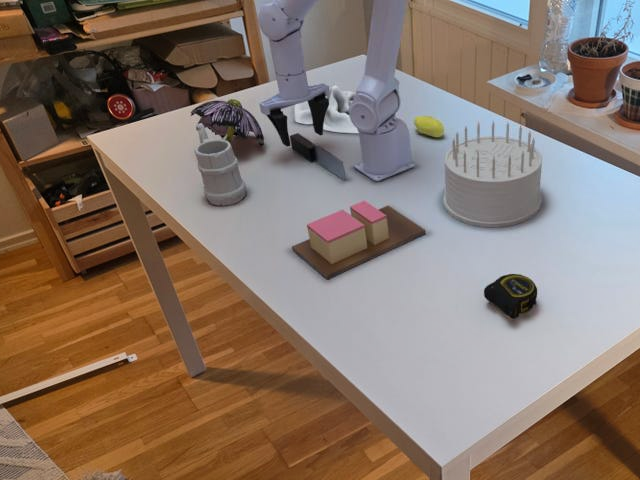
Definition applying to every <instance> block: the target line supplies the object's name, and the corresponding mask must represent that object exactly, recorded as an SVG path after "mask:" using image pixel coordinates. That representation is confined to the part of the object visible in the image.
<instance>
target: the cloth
mask: <svg viewBox="0 0 640 480" xmlns="http://www.w3.org/2000/svg"><path fill="white" fill-rule="evenodd" d="M329 90H330V95H329V96H325V98H327V99H329V106H328V109H327V111H326V114H325V118H324V125H323V131H326V132H331V133H336V134H337V133H338V134H354V135H356V134H357V135H359V132H358V130H357V128H356V127H355V126H354V125H353V123H352V121H351V119H350V116H349V107H350V104H351V103H352V101H353V100H354V99H355V95H356V92H353V91H347V90H343V91H342V90H341V89H340V88H339V86H337V85H333V86H331V87H329ZM293 107H294V109H293V115H294V121H295V122H296V123H298V124H300V125H309V126H310V125H313V121H312V115H311V111H310V108H309V104H308V102H307V101H306V102H303V103H299V104H296V105H293Z"/></svg>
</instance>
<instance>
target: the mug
mask: <svg viewBox="0 0 640 480" xmlns="http://www.w3.org/2000/svg"><path fill="white" fill-rule="evenodd" d="M195 126H196V127H197V129H198V130H197V129H196V130H197V132H198V138H199V144H198V145H196V147H195V148H194V152H195V156H196V160H197V164H196V165H197V166H196V167H197V169H198V171H199V173H200V175H201V178H202V183H203V194H204V196H205V197H206V198H207V201H209V203H210V204H212V205H215V206H223V207H224V206H230V205H233V204H236V203H239V202H240V201H242V200H243V199H244V198H245V196H246V195H247V194H246V193H247V192H246V189H247V187H246V182H245V180H243V178H242V176H241V171H240V169H239V162H238V158H237V157H236V156H235V153H234V149H233V147H232V144H231V142H230V143H229V142H228V141H225V139H209V135H208V133H207V130H206V128H205V127H204V125H203V124H202V123H200V124H198V123H197V124H196V125H195ZM232 149H233V150H232Z"/></svg>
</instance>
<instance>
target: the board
mask: <svg viewBox="0 0 640 480" xmlns="http://www.w3.org/2000/svg"><path fill="white" fill-rule="evenodd" d="M378 210H379V211H381V212H382V213H384V214H385V215H386V216H387V225H388V235H389V239H387V240H385V241H382V242H380V243H378V244H376V245H374V244H372V243H371V242H370V241H368V240H367V239H366V241H367V249H365V250H362V251H360V252H358V253H356V254H354V255H351V256H349V257H347V258H345V259H343V260H340V261H338V262H336V263H334V264H331V263H330V262H328V261H327V260H326V259H325V258H324V257H322V256H321V255H320V254H319V253H317V252H316V251H315V250H314V249H313V248H311V243H310V238H309V239H306V240H304V241H301V242H299V243H297V244H294V245H292V246H291V251H293V252H294V253H295V254H296V255H298V256H299V257H300V258H301V259H302V260H303V261H304V262H306V263H307V264H308V265H309V266H310V267H311V268H313V269H314V270H315V271H316V272H317V273H318V274H319V275H321V276H322V277H323V278H325V280H329V279H331V278H334V277H336V276H339V275H341V274H342V273H344V272H346V271H349V270H350V269H353V268H356V267H357V266H360V265H362V264H364V263H366V262H368V261H370V260H372V259H375V258H377V257H379V256H381V255H383V254H385V253H388V252H389V251H391V250H394V249H396V248H398V247H401V246H403V245H405V244H407V243H409V242H411V241H413V240H416V239H418V238H420V237H422V236H425V235H426V229H425V228H423V227H422V226H420V225H418V224H417V223H415V222H414V221H413V220H411V219H409V218H408V217H406V216H405V215H403V214H402V213H400V211H397V210H396V209H395V208H393V207H391V206H390V205H386V206H384V207H381V208H378Z"/></svg>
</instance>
